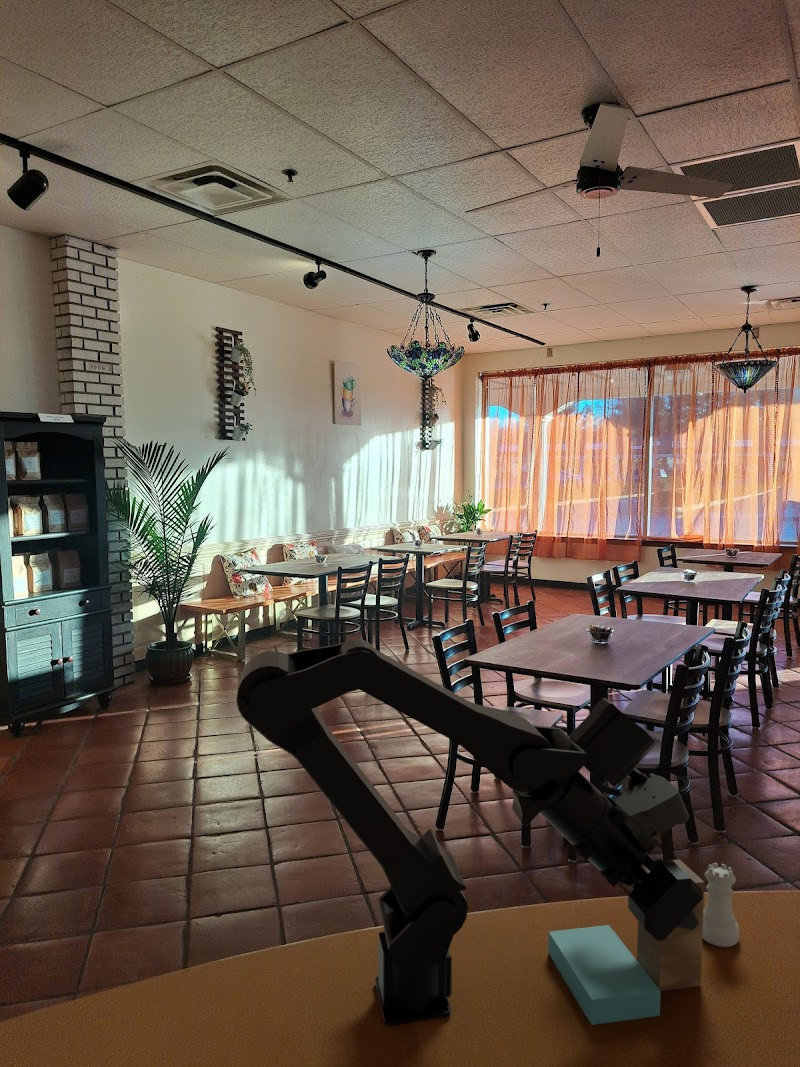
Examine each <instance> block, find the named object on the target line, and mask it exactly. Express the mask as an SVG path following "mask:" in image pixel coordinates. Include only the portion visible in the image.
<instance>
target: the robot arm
mask: <svg viewBox="0 0 800 1067" xmlns="http://www.w3.org/2000/svg"><path fill="white" fill-rule="evenodd" d="M355 691H362V693H365V694H367V695H368V696H370V697H373V698H374V699H376V700H378V701H380V702H382V703H383V704H385V705H387V706H389V707H391V708H393V710H394V709H395V710H396V711H398V712H399V713H402V714H404V715H405V716H407V717H409V718H411V719H413V720H415V721H416V722H418V723H420V724H422V725H423V726H426V727H427V728H429V729H431V730H432V731H434V732H436V733H438V734H440V735H442V736H443V737H446V738H447V739H449V740H451V741H453V742H454V743H456V744H458V745H460V747H462V748H463V749H464V750H465V751H466V752H468V753H469V754H470V755H471V756H472V757H473V758H474V759H476V761H478V762H479V763H480V764H481V765H482V766H483V767H484V768H485V769H486V770H487V771H488V772H490V773H491V774H493V776H495V777H496V778H497V779H499V780H500V781H501V782H502V783H503V784H505V785H506V786H507V787H508V788H510V789H511V790H512V795H513V799H512V806H511V809H512V811H513V812H514V814H515V816H516V817H517V819H518V820H519V822H520V823H521V825H522V826H525V827H526V826H528V825H530V824H531V822H532V821H533V820H534V819H535V818H536V817H537V816H538V815H539V814H540V815H541V816H542V817H543V818H544V819H545V820H546V821H547V822H548V823H549V824H550V825H551V826H552V827H553V828H555V829H556V830H557V831H558V832H559V833H560V835H562V836H563V837H564V839H566V840H567V841H568V842H569V843H570V844H571V845H572V847H573V848H574V849H575V850H576V851H577V853H578V855H579V856H581V857H582V858H583V859H584V861H589V862H590V863H591V864H592V865H593V866H594V867H595V868H596V869H597V870H598V871H599V872H600V873H601V876H603V877H604V879H605V880H606V881H607V883H609V885H611V886H612V887H613V888H614V887H616V885H617V884H618V883H620V884H623V885H625V886H628V887H629V889H632V890H631V892H630V893H628V894H627V896H628V897H627V898H628V899H627V901H628V902H627V908H628V910H629V911H630V912H631V914H632V915H633V917H635V919H636V920H637V922H638V921H639V922H640V924H641V925H642V926H643V927H644V929H645V930H646V931H647V932H648V933H650V934H651V935H652V936H653V937H654V938H655V939H656V940H657V941H661V940H665V939H666V938H667V937H668V936H669V935H670V934H671V933H672V931H673V930H674V929H675V928H676V927H680V928H684V929H688V930H694V929H695V927H696V926H697V925H698V924H699V921H698V919H697V918H696V916H695V914H694V913H693V911H692V910H693V909H694V908H695V907H696V905H697V904H698V903H699V902H700V901H701V900H702V899H703V890H702V889H701V888H700V887H699V886H698V885H697V884H696V883H695V882H694V881H693V880H692V879H691V878H690V877H689V876H688V875H687V874H686V873H685V872H684V871H683V870H682V869H681V868H680V867H679V866H678V865H677V864H676V863H675V862H674V861H673V860H674V859H672V860H670V861H669V860H663V859H661V858H659V859H656V860H654V859H653V858H652V857H651V856H649V854H651V853H652V852H653V850H654V849H655V848H656V847H657V846H658V843H656V841H655V840H653V839H652V837H657V836H659V835H661V834H663V833H665V832H667V831H668V830H670V829H672V828H674V827H676V826H678V825H679V826H680V825H683V824H685V823H686V822H688V820H689V819H690V815H689V812H688V810H687V808H686V805H685V803H684V801H683V799H682V795H681V793H680V791H679V789H678V788H677V787H676V786H675V785H673V784H672V783H671V782H669V780H667V779H666V778H665V777H663V776H661V775H656V774H654V773H653V772H651V773H649V774H648V775H649V777H648V776H646V775H645V774H644V773H643V772H641V771H639V770H638V769H637V768H636V767H637V766H638V765H639V764H640V763H641V762H642V761H643V759H645V758H646V756H648V755H649V754H650V752H652V750H653V749H654V748H655V747H657V743H656V740H654V739H653V738H652V736H651V735H650V734H649V733H648V732H647V731H646V730H645V729H644V728H643V727H642V726H640V725H639V724H638V723H636V722H634V721H633V720H631V719H630V717H628V716H627V715H626V714H625V713H623V712H622V711H621V710H620V709H619V708H618V707H617V706H616V705H615V704H614V703H612V702H611V701H610V700H608V699H607V698H606V697H602V698H601V699H600V700H599V701H598V702H597V703H596V704H595V706H594V707H593V708H592V710H591V712H590V713H589V714H588V715H587V716H586V717H585V719H583V720H582V722H581V723H579V725H578V726H577V727H576V728H575V729H574V730H573V731H572V732H571V733H570V734H567V733H566V732H565V731H564V730H563V729H562V728H560V727H554V726H544V725H533V724H532V723H531V722H530V721H529V720H527V719H526V718H525V717H522V716H520V715H517V714H514V713H510V712H508V711H505V710H502V709H499V708H497V707H492V706H486V705H482V704H478V703H475V702H472V701H469V700H467V699H466V698H463V697H462V696H460V695H458V694H456V693H455V692H453V691H451V690H450V689H448V688H445V687H444V686H442V685H440V684H438V683H437V682H435V681H433V680H431V679H430V678H428V677H427V676H424V675H422V674H421V673H420V672H419V673H418V672H417V671H415V670H414V669H411V667H408V666H406V665H405V664H403V663H401V662H399V661H397V660H396V659H394V658H393V657H390V656H388V655H387V654H385V653H383V652H381V651H380V650H378V649H376V648H375V647H374V646H373V645H372V644H371V643H370V642H369V641H367V640H366V639H365V640H364V639H361V638H351V639H348V640H346V641H344V642H341V643H336V644H333V645H325V646H319V647H312V648H305V649H301V650H300V649H299V650H297V651H294V652H290V653H284V652H282V651H281V652H280V651H274V650H273V651H272V650H268V651H263V652H260V653H257V654H255V655H254V656H252V658H250V659H249V660H248V661H247V662H246V663H245V665H244V667H243V670H242V672H241V675H240V680H239V683H238V688H237V695H236V705H237V706H236V707H237V709H238V712H239V715H241V717H242V719H243V720H244V721H246V722H247V723H248V724H249V725H250V726H251V727H253V729H254V730H256V731H257V732H258V733H259V734H260V735H261V736H263V737H264V738H265V739H266V740H267V741H269V742H270V743H271V744H273V745H274V746H276V747H278V748H279V749H281V750H282V751H284V752H285V753H287V754H290V755H291V756H292V757H293V758H294V759H296V761H297V762H298V763H299V764H300V766H301V767H302V768H303V769H304V771H305V772H306V773H307V774H308V776H310V778H311V779H312V780H313V782H314V783H315V784H316V785H317V787H318V788H319V790H320V791H321V792H322V793H323V794H324V795H325V797H326V798H327V800H328V801H329V802H330V804H332V806H333V807H334V808H335V809H336V811H337V812H338V813H339V815H340V816H341V817H342V818H343V820H344V821H345V823H346V824H347V825H348V826H349V827H350V828H351V829H352V832H354V833H355V835H356V836H357V837H358V839H359V840H360V841H361V842H362V844H363V845H364V846H365V847H366V849H367V850H368V852H370V854H371V855H372V856H373V857H374V859H375V861H376V862H377V863H378V864H379V865H380V866H381V868H382V870H383V872H384V874H385V876H386V878H387V881H388V883H389V885H390V886H389V887H388V888H387V889H386V891H384V893H383V894H381V895H380V897H379V898H377V899H378V900H377V903H378V908H379V912H380V917H381V920H382V925H383V931H381V932H379V933H378V976H376V977H375V979H374V981H375V982H374V983H375V987H376V993H377V997H378V1001H379V1005H380V1008H381V1013H382V1014H381V1016H382V1019H383V1021H384V1022H383V1023H385V1024H387V1025H394V1024H400V1023H409V1022H417V1021H418V1022H419V1021H426V1020H432V1019H441V1018H448V1017H450V1016H451V1014H452V1013H451V1012H452V1008H451V1005H450V1002H449V1000H448V999H449V998H451V996H452V985H453V984H452V983H453V982H452V979H453V977H452V976H453V974H452V973H453V971H452V969H453V968H452V967H453V965H452V964H453V963H452V961H453V958H452V955H451V953H450V950H449V949H450V947H451V944H452V941H453V940H454V936H455V935H456V934H457V933H458V932H459V931H460V930H461V929H462V928H463V926H464V924H465V922H466V920H467V915H468V910H469V906H468V902H467V900H466V897H465V894H464V891H466V890H467V886H466V883H465V881H464V878H463V876H462V874H461V872H460V870H459V867H458V865H457V863H456V861H455V858H454V856H453V854H452V853H451V852H449V851H448V850H445V848H444V847H443V846H441V844H440V843H439V841H438V838H437V837H436V835H435V833H434V832H433V829H432V828H428V830H427V831H426V832H425V833H423V835H422V836H419V835H417V834H416V833H414V832H412V831H411V830H410V829H409V828H407V827H406V825H405V824H404V823H403V822H402V820H401V819H400V818H399V817H398V815H397V814H396V812H395V811H394V810H393V808H392V807H391V806H390V804H388V803H387V800H385V798H384V797H383V796H382V795H381V793H380V791H378V790H377V788H376V787H375V786H374V785H373V783H372V782H371V780H370V779H369V778H368V777H367V775H366V774H365V773H364V772H363V770H362V769H361V767H360V766H359V765H358V764H357V762H356V761H355V760H354V759H353V757H352V756H351V755H350V754H349V752H348V751H347V749H345V747H344V745H343V744H342V743H341V742H340V741H339V739H338V738H337V737H336V735H335V734H334V733H333V731H332V730H331V729H330V727H329V726H328V724H326V722H325V721H324V718H323V716H322V714H321V712H320V710H319V708H318V707H320V706H322V705H323V706H324V704H326V703H329V702H331V701H333V700H335V699H337V698H340V697H342V696H344V695H346V694H348V693H351V692H355ZM583 767H584V768H585V770H587V771H588V772H589V773H590V774H591V775H592V776H593V777H594V778H595V779H596V780H597V781H598V782H599V783H600V784H601V785H603V786H604V785H605V784H606V783H607V782H608V783H609V784H610V785H611V786H612V787H613V788H615V787H616V786H617V785H618V786H619V785H621V786H620V787H621V789H620V790H619V792H620V795H619V796H618V797H616V798H615V799H614V800H613V799H612V798H611V797H610V796H609V795H608V794H607V793H606V792H604V793H602V792H601V791H600V790H599V789H597V787H596V786H595V785H594V784H592V783H591V781H590V780H589V779H588V778H586V776H584V774H582V772H580V770H581V769H583ZM642 864H643V865H644V866H645V867H646V868H647V869H648V870H649V871H650V872H649V873H647V872H646V871H645V869H644V868H643V867H642V866H641V865H642ZM639 880H640V881H641V882H640V883H639Z"/></svg>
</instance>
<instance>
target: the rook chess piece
mask: <svg viewBox="0 0 800 1067" xmlns="http://www.w3.org/2000/svg"><path fill="white" fill-rule="evenodd" d="M718 865H719V864H718V863H717V862H715V863H712V864H710V863H709V864H708V867H707V868H708V869H706V871H705V872H704V878H706V880H707V881H708V884H707V885H706V886H705V888H706V891H707V898H706V904H705V908H703V936H702V941H703V940H704V941H705V942H707V943H708V944H710V945H713V946H714V947H719V948H732V947H734V946H735V945H737V943H738V942H739V941H740V940H741V938H740V934H739V932H740V927H739V923H738V922H737V921H736V917H735V916H734V914H733V906H732V905H733V904H732V896H733V894H734V890H733V889H732V886H733V885H735V883H736V882H737V878H736V876H735V875H734V874H733V868H732V867H731V866H729V867H727V865H726V864H724V863H721V866H720V867H719V866H718Z"/></svg>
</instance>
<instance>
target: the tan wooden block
mask: <svg viewBox="0 0 800 1067" xmlns="http://www.w3.org/2000/svg"><path fill="white" fill-rule="evenodd" d="M672 860H673V861H674V862H675V863H676V864H677V865H678V866H679V867H680V868H681V869H682V870H683V871H684V872H685V873H686V874H687V875H688V876H689V877H690V878H691V879H692V880H693V881H694V882H695V883H696V884H697V885H698V886H699V887H700V888H701V889H702V890H703V899H702V900H701V901H700V902H699V903H698V904H697V905H696V907H695V908H694V909H693V910H692V911H693V913H694V914H695V916H696V918H697V919H698V921H699V924H698V925H697V926H696V927H695V929H694V930H688V929H684V928H680V927H676V928H675V929H674V930H673V931H672V933H671V934H670V935H669V936H668V937H667V938H666V939H665V940H661V941H657V940H656V939H655V938H654V937H653V936H652V935H651V934H650V933H648V932H647V931H646V930H645V929H644V927H643V926H642V925H641V924H640V922H639V921H638V920H637V946H636V947H637V950H636V951H637V952H636V960H637V961H638V963H639V964H640V965H641V967H642V968H643V969H644V970H645V972H646V973H647V974H648V975H649V977H650V978H651V979H652V981H653V982H654V983H655V984H656V986H657V987H658V988H659V990H660V991H661V992H666V991H672V990H673V991H674V990H681V989H689V988H697V987H701V986H702V962H703V960H702V959H703V938H702V936H703V910H704V905H705V904H704V903H705V902H704V900H705V880H703V879H702V878H701V877H700V876H699V875H697V874H696V872H694V871H693V870H692V869H691V868H690V867H688V866H687V864H685V862H683V861H682V860H681V859H672ZM668 861H670V860H668ZM641 866H642V867H643V868H644V869H645V871H646V872H647V873H649V872H650V871H649V870H648V869H647V868H646V867H645V866H644V865H643V864H642V865H641ZM640 882H641V881H640V880H639V883H640Z"/></svg>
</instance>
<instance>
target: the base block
mask: <svg viewBox="0 0 800 1067" xmlns="http://www.w3.org/2000/svg"><path fill="white" fill-rule="evenodd" d="M547 942H548V945H547V946H548V949H547V950H548V952H547V954H548V953H549V954H550V956H551V958H552V959H551V958H550V959H551V961H552V960H553V961H554V962H553V961H552V962H553V964H554V963H555V964H554V966H555V965H556V966H555V967H556V969H557V970H559V971H558V972H559V974H560V973H561V974H560V976H561V975H562V976H561V977H562V979H563V981H564V982H565V984H566V985H567V987H568V989H569V991H570V992H571V993H572V995H573V998H574V999H575V1000H576V1002H577V1003H578V1005H579V1007H580V1008H581V1010H582V1012H583V1013H584V1016H586V1018H587V1020H588V1021H589V1023H590V1025H591V1026H595V1025H602V1024H607V1023H608V1024H609V1023H610V1024H611V1023H617V1022H623V1021H630V1020H631V1021H632V1020H639V1019H645V1018H653V1017H660V1016H661V993H662V991H660V990H659V988H658V987H657V986H656V984H655V983H654V982H653V981H652V979H651V978H650V977H649V975H648V974H647V973H646V972H645V970H644V969H643V968H642V967H641V965H640V964H639V963H638V961H637V958H635V956H634V955H633V954H632V953H631V951H630V950H629V949H628V947H627V946H626V945H625V943H624V942H623V941H622V940H621V938H620V937H619V936H618V934H617V933H616V932H615V930H613V928H612V927H611V926H610V924H605V925H598V926H588V927H579V928H571V929H570V928H568V929H562V930H561V929H560V930H552V931H548V941H547ZM549 954H548V955H549ZM550 956H549V957H550Z"/></svg>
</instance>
